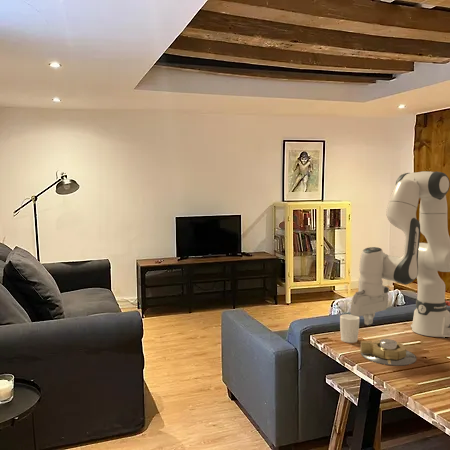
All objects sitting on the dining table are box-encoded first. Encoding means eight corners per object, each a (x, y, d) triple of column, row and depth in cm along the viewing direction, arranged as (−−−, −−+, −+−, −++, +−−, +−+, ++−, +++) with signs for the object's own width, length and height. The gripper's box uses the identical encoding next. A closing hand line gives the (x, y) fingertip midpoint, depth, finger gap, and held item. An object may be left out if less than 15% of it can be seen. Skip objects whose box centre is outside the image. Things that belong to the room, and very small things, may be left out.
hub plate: (384, 343, 190) (385, 330, 189) (428, 359, 173) (428, 345, 172) (349, 352, 179) (349, 338, 179) (391, 369, 162) (392, 354, 162)
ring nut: (401, 348, 181) (401, 338, 181) (408, 360, 169) (408, 349, 169) (358, 346, 183) (359, 336, 183) (363, 357, 172) (363, 347, 171)
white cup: (359, 344, 189) (360, 320, 188) (339, 342, 190) (340, 318, 189) (358, 337, 196) (358, 314, 195) (338, 336, 198) (339, 313, 197)
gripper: (361, 294, 171) (359, 330, 172) (391, 287, 184) (389, 321, 185) (347, 290, 176) (345, 326, 177) (377, 284, 189) (376, 318, 190)
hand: (368, 323), depth 181 cm, fingers closed
